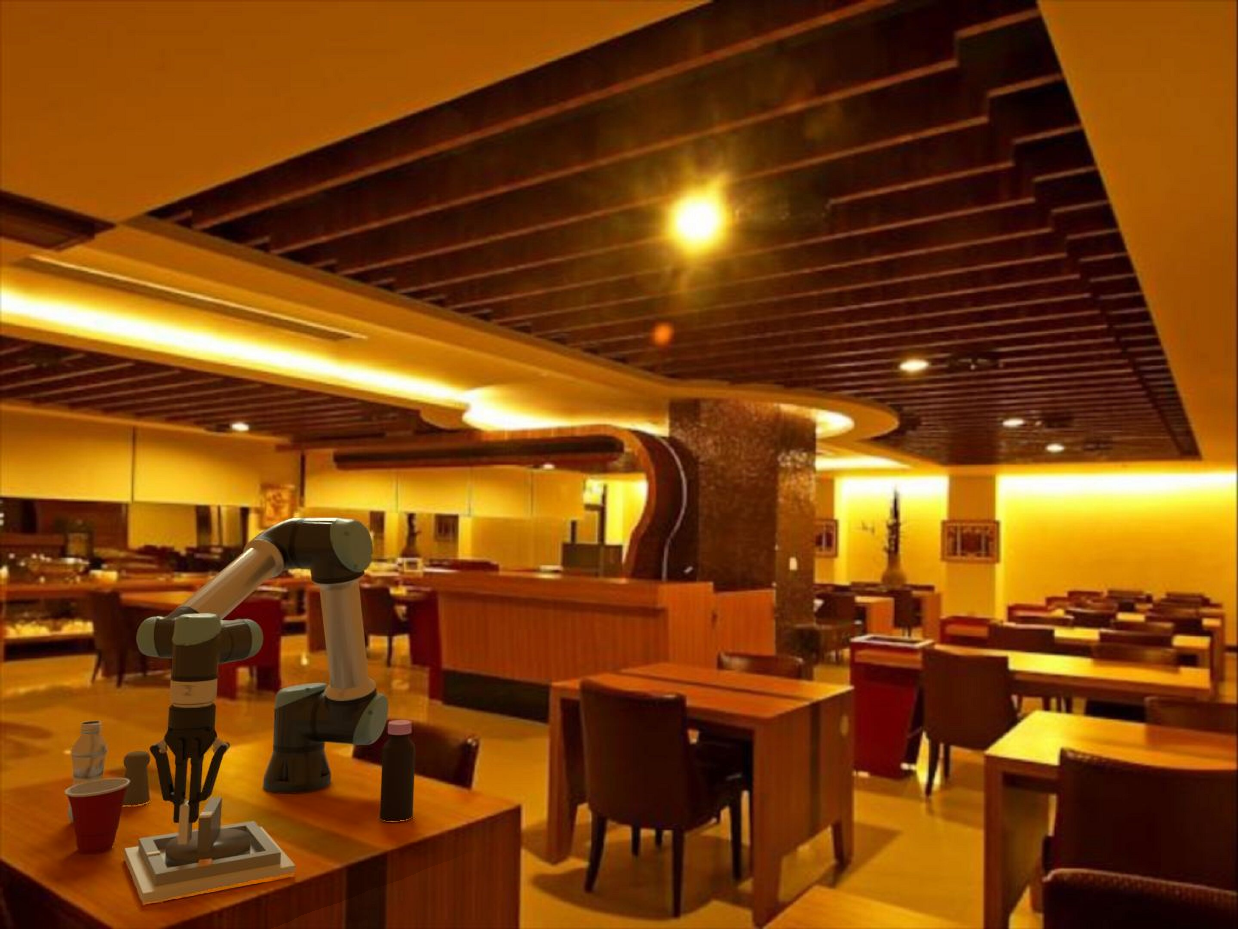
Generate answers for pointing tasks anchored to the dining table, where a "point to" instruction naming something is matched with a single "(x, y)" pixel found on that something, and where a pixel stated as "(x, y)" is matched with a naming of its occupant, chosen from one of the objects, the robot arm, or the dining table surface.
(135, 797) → the cork
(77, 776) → the plastic bottle
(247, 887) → the dining table surface
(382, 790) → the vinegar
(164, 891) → the panel
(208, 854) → the oval knob with handle
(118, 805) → the plastic cup
